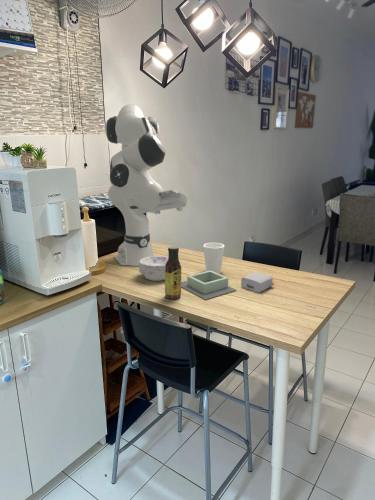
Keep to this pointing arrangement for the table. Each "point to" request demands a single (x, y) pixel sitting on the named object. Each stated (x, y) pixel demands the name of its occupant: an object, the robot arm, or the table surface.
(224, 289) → the mat
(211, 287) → the bottle holder
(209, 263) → the foam cup
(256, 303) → the table surface
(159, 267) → the paper bowls
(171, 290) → the sauce bottle
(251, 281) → the charger
